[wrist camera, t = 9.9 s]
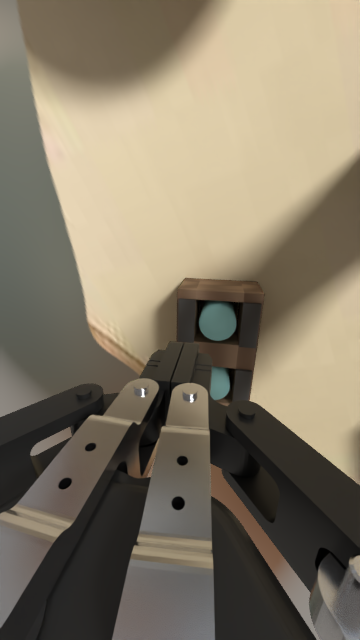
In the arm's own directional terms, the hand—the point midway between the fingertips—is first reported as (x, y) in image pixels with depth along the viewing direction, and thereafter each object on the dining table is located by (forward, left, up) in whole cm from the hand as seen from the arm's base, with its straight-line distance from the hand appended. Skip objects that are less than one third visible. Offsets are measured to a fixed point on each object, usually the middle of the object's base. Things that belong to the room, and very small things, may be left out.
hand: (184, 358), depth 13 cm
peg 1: (-2, +4, -21) cm, 21 cm away
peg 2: (-2, +12, -21) cm, 24 cm away
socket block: (-2, +8, -21) cm, 22 cm away
